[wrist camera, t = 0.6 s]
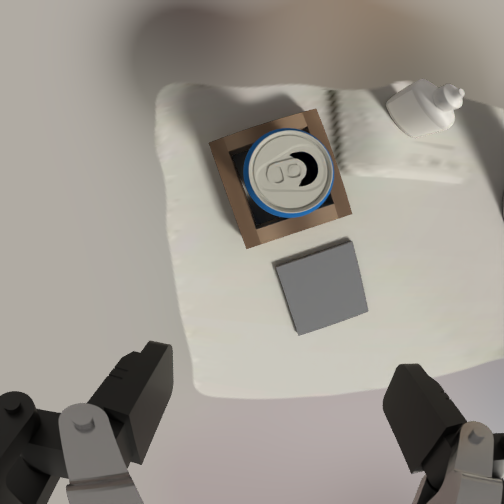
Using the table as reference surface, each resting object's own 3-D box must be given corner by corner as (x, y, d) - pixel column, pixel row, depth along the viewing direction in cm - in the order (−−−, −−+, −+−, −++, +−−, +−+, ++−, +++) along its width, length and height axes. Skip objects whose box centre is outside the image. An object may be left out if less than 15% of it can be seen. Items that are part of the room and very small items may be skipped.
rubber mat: (350, 240, 31) (352, 241, 30) (366, 309, 33) (368, 311, 32) (275, 266, 32) (275, 267, 31) (298, 333, 34) (298, 335, 33)
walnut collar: (310, 116, 28) (316, 108, 25) (342, 211, 30) (352, 213, 27) (214, 147, 29) (208, 142, 26) (248, 242, 31) (246, 249, 28)
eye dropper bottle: (395, 141, 28) (455, 124, 17) (381, 97, 27) (433, 61, 15) (423, 137, 28) (486, 122, 16) (410, 94, 27) (466, 64, 15)
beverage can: (316, 198, 30) (349, 205, 18) (259, 215, 31) (258, 231, 19) (299, 142, 29) (322, 114, 17) (241, 158, 30) (229, 139, 18)
